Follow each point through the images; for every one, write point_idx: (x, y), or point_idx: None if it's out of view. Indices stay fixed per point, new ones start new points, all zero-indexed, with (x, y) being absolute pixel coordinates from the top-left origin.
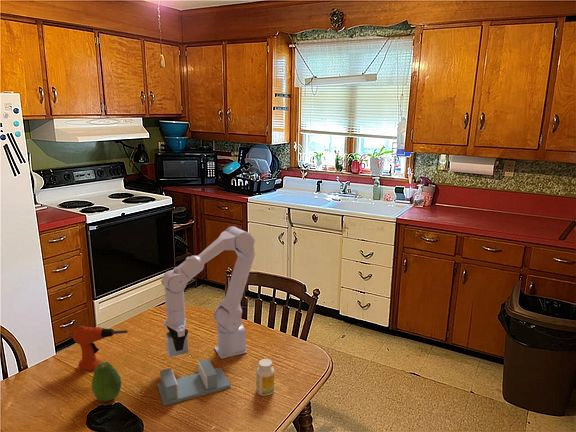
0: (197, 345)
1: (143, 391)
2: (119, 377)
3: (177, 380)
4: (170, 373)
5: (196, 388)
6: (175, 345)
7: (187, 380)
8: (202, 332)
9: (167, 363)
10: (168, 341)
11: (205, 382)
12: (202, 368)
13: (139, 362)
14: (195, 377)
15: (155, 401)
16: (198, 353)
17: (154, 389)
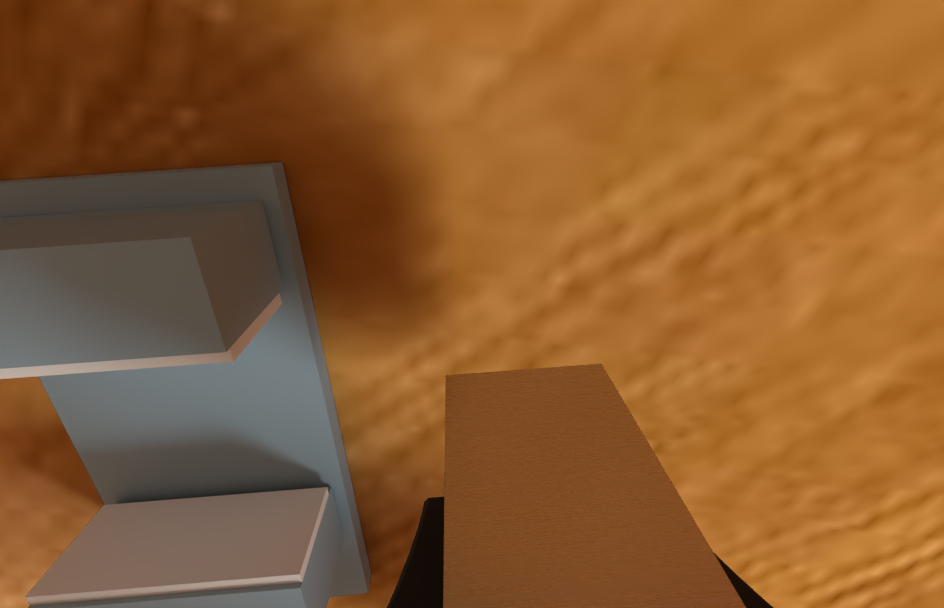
0: (741, 501)
1: (230, 12)
2: None
3: (281, 336)
4: (105, 343)
5: (141, 444)
6: (398, 587)
7: (262, 403)
8: (885, 546)
9: (616, 283)
10: (446, 581)
11: (89, 540)
12: (179, 591)
13: (782, 21)
14: (291, 455)
15: (47, 116)
16: None
17: (243, 127)
